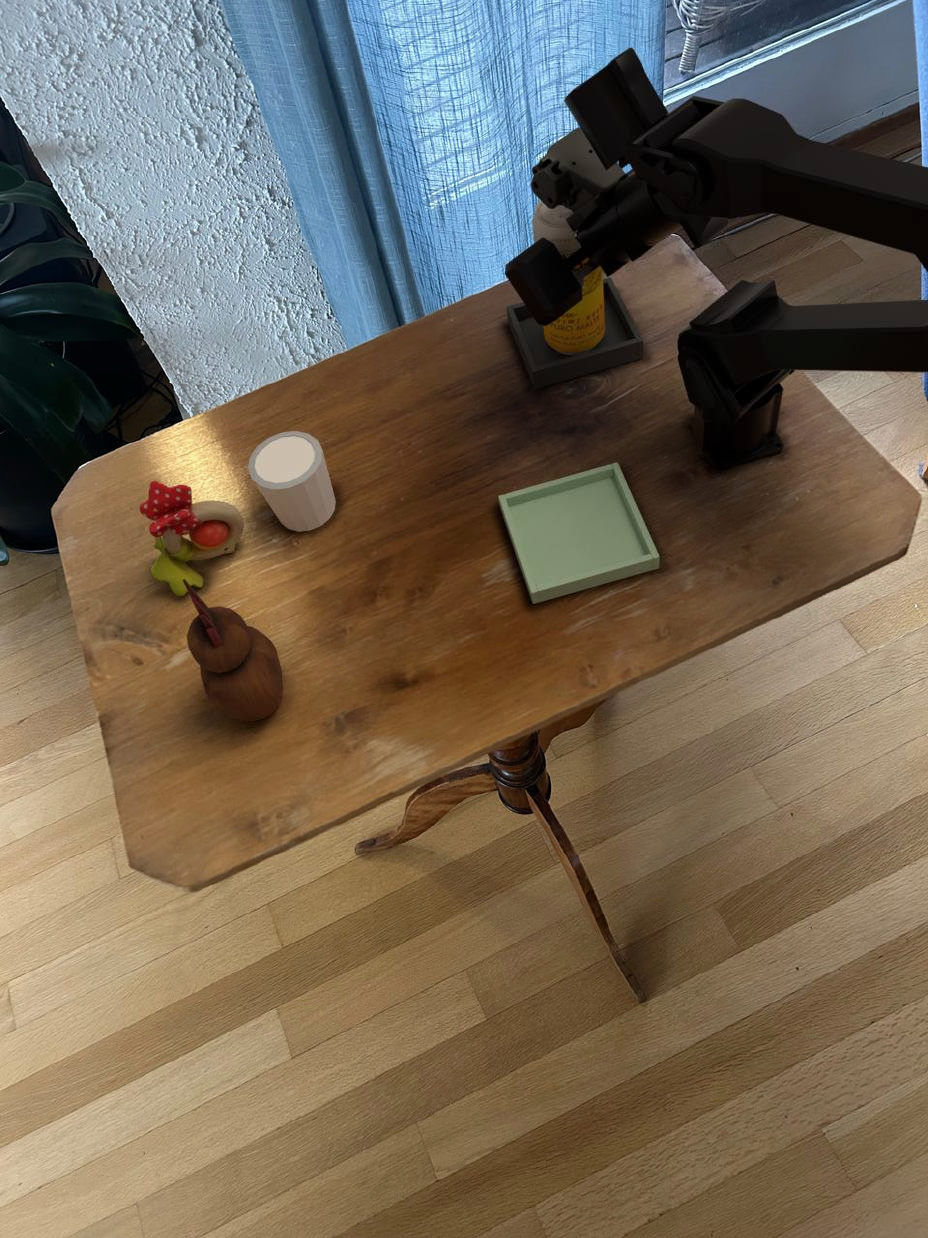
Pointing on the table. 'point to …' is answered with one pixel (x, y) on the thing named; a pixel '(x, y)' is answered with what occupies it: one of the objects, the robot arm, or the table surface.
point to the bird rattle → (188, 532)
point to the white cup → (294, 479)
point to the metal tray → (556, 367)
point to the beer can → (587, 317)
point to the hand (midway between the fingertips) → (558, 268)
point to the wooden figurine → (234, 662)
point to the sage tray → (577, 533)
